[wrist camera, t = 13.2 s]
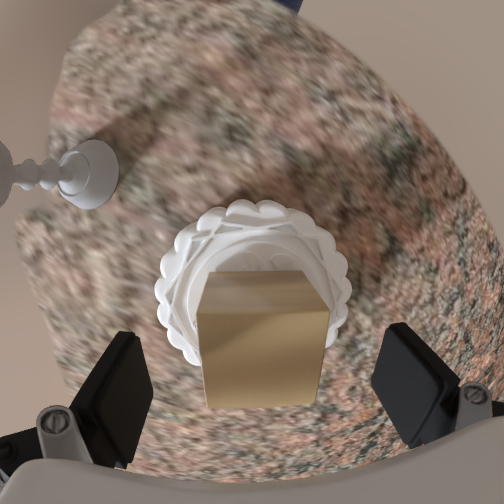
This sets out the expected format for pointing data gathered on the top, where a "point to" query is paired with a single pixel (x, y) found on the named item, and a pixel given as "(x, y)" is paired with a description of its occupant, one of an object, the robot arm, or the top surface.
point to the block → (261, 339)
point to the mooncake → (247, 262)
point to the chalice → (66, 174)
